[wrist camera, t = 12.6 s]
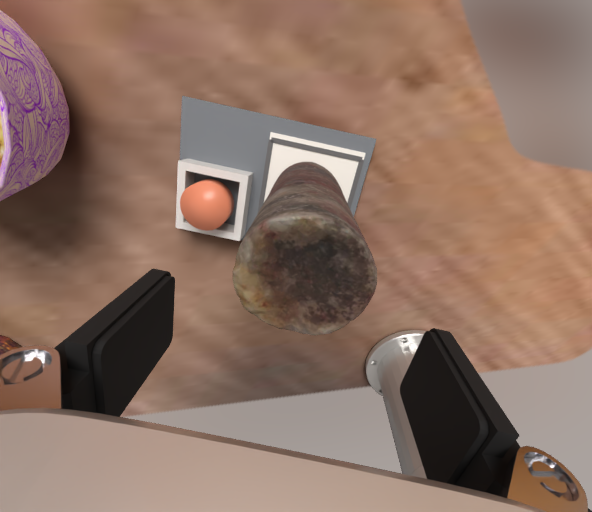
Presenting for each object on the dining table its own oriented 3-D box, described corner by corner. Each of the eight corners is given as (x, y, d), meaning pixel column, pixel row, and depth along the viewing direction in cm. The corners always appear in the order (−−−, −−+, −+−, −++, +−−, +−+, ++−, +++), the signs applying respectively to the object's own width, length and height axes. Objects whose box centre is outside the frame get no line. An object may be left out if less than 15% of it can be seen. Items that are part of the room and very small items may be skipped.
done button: (236, 184, 30) (230, 188, 28) (231, 227, 32) (225, 234, 30) (191, 174, 30) (180, 178, 28) (188, 218, 32) (179, 225, 30)
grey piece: (374, 138, 31) (381, 139, 27) (339, 257, 36) (342, 270, 33) (186, 96, 30) (170, 92, 27) (180, 224, 36) (167, 233, 32)
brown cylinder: (356, 195, 32) (411, 285, 13) (310, 241, 34) (304, 370, 16) (304, 145, 30) (286, 170, 12) (260, 197, 33) (188, 285, 14)
